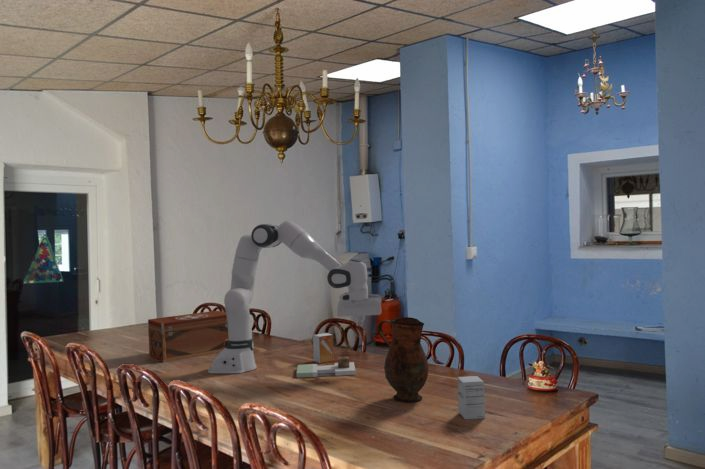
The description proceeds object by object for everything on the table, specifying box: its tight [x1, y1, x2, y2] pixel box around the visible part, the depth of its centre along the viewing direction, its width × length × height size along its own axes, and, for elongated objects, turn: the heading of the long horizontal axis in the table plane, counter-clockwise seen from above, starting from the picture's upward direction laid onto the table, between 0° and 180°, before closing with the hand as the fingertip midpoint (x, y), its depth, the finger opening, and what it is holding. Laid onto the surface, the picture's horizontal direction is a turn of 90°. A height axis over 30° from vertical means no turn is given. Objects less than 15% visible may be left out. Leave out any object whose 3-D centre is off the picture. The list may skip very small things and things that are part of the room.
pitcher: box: [377, 316, 429, 403], centre depth 229 cm, size 17×21×30 cm
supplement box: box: [457, 375, 486, 420], centre depth 205 cm, size 7×7×13 cm
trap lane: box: [296, 361, 357, 379], centre depth 273 cm, size 26×16×2 cm, turn 93°
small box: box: [312, 332, 335, 364], centre depth 295 cm, size 8×6×13 cm
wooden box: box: [147, 310, 228, 363], centre depth 326 cm, size 20×41×20 cm, turn 128°
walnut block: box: [337, 355, 350, 368], centre depth 274 cm, size 5×5×4 cm
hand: (359, 325), depth 274 cm, fingers closed
